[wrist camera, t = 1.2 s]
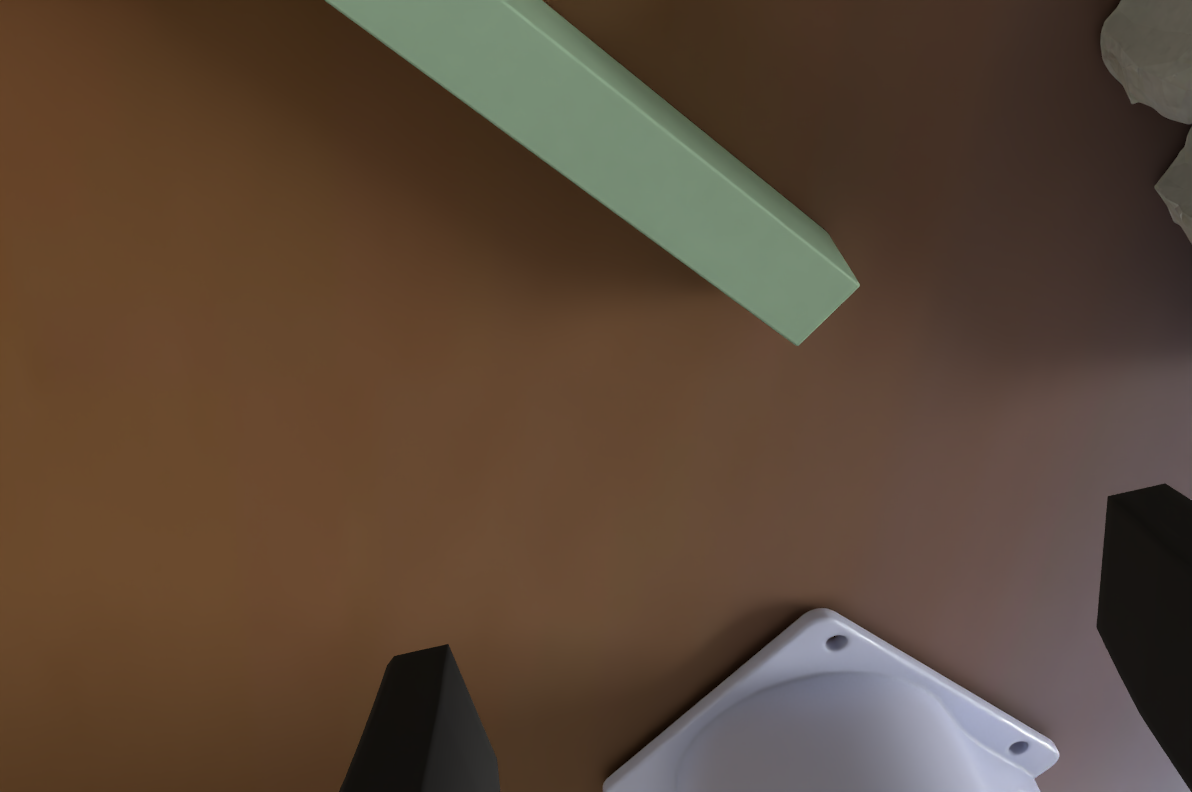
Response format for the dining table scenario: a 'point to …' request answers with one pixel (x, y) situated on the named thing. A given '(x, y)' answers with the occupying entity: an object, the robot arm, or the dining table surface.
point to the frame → (621, 148)
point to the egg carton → (1157, 79)
